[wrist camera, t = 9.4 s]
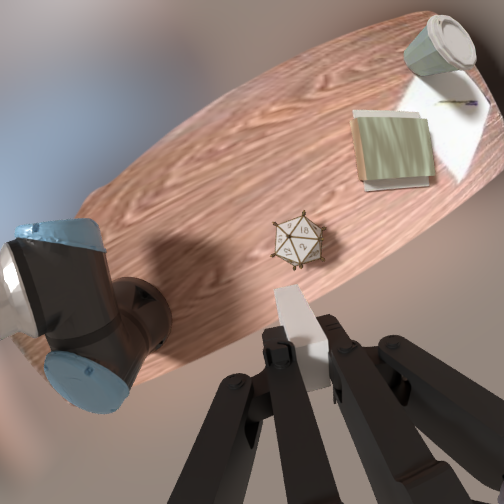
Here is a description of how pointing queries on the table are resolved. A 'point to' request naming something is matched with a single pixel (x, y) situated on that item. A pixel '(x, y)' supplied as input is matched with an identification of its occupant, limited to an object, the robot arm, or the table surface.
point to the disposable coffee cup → (440, 48)
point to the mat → (391, 182)
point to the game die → (298, 241)
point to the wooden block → (392, 147)
